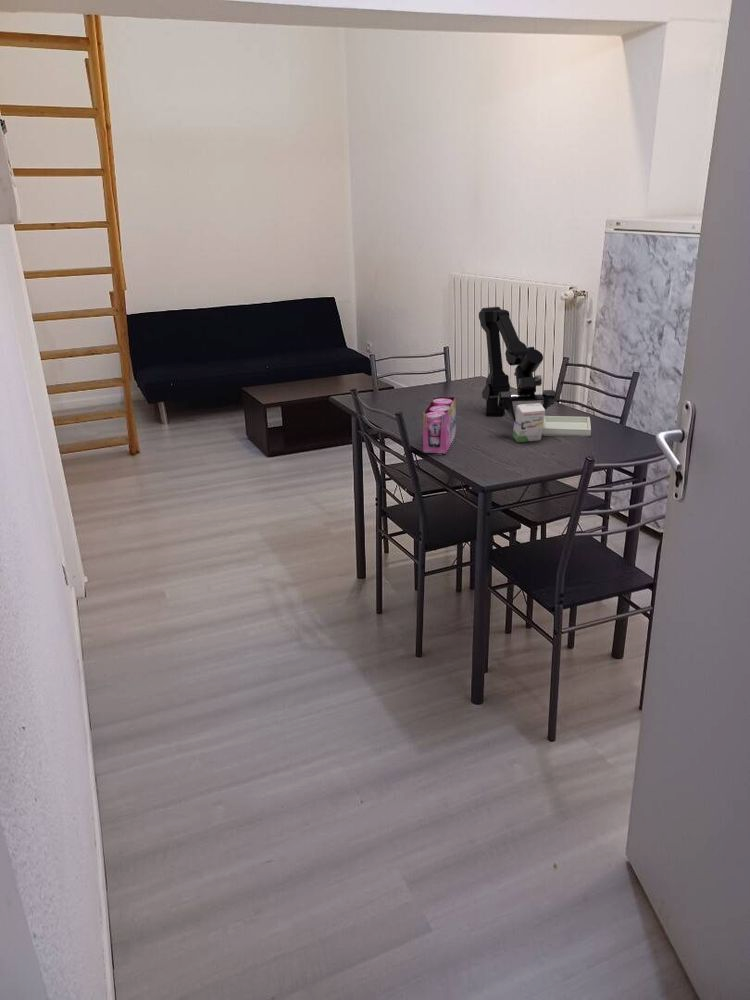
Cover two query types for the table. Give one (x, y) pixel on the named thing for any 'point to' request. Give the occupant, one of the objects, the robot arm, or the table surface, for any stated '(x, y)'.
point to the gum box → (439, 424)
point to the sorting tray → (566, 426)
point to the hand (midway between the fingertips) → (528, 420)
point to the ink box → (528, 422)
